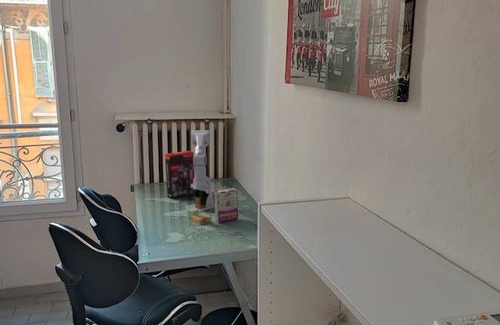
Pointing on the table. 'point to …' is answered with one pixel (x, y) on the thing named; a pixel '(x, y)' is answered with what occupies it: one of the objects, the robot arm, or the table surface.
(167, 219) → the table surface
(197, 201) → the walnut block
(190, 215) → the sage block
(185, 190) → the graphics card box
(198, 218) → the oak slab
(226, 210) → the candy bar box
